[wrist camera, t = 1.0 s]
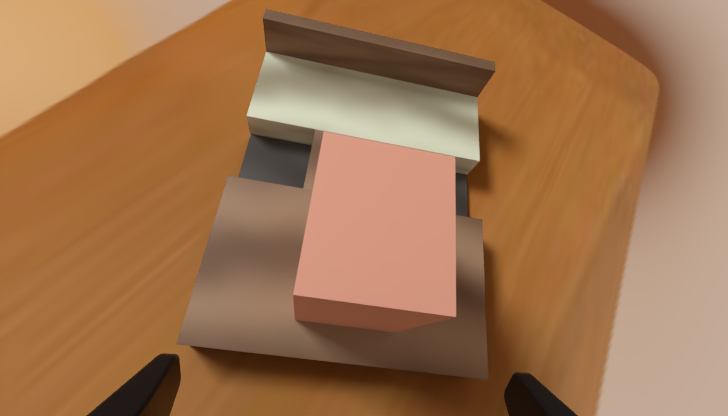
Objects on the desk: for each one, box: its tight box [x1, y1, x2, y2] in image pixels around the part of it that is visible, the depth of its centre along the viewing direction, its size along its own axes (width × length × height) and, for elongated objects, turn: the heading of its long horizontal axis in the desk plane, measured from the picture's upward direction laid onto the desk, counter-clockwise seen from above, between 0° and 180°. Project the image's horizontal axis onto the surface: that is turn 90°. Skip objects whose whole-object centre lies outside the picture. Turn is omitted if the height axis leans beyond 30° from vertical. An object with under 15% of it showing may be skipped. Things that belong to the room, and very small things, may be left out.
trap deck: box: [177, 9, 495, 380], centre depth 24 cm, size 23×18×6 cm
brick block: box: [293, 131, 456, 333], centre depth 18 cm, size 7×6×9 cm
